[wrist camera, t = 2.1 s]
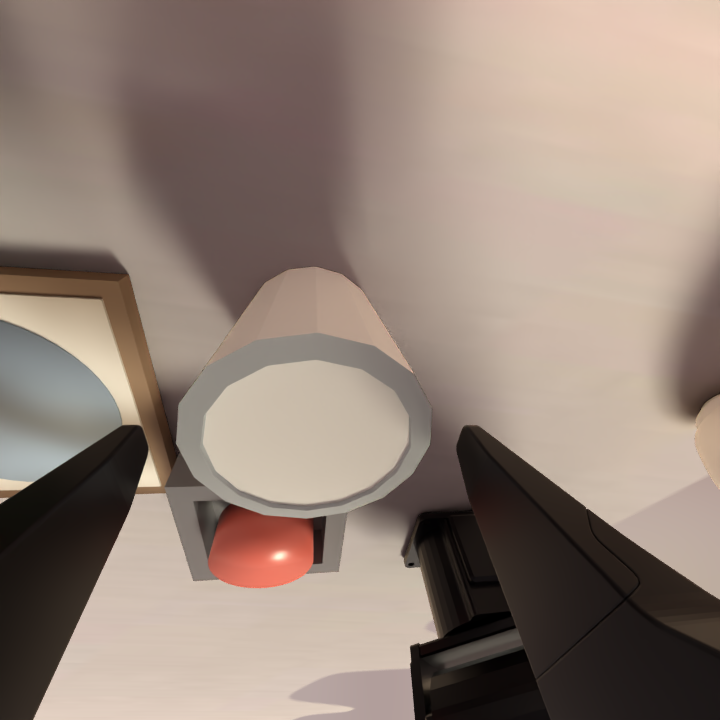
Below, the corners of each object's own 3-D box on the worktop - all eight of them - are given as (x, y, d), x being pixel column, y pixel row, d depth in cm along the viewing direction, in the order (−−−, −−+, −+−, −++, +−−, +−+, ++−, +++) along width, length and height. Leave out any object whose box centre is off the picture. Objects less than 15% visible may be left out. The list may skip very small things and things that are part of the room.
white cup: (196, 322, 14) (112, 447, 8) (318, 212, 12) (321, 271, 6) (308, 411, 17) (304, 546, 12) (416, 334, 16) (477, 447, 10)
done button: (312, 545, 19) (311, 584, 17) (223, 550, 18) (214, 591, 17) (315, 492, 17) (315, 531, 15) (212, 495, 16) (200, 537, 14)
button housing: (335, 516, 23) (338, 571, 20) (210, 521, 21) (193, 581, 18) (345, 428, 18) (351, 482, 15) (190, 428, 17) (164, 487, 14)
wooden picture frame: (182, 480, 19) (176, 495, 18) (-67, 486, 17) (-86, 503, 16) (128, 274, 13) (115, 283, 12) (-274, 248, 11) (-322, 257, 10)
